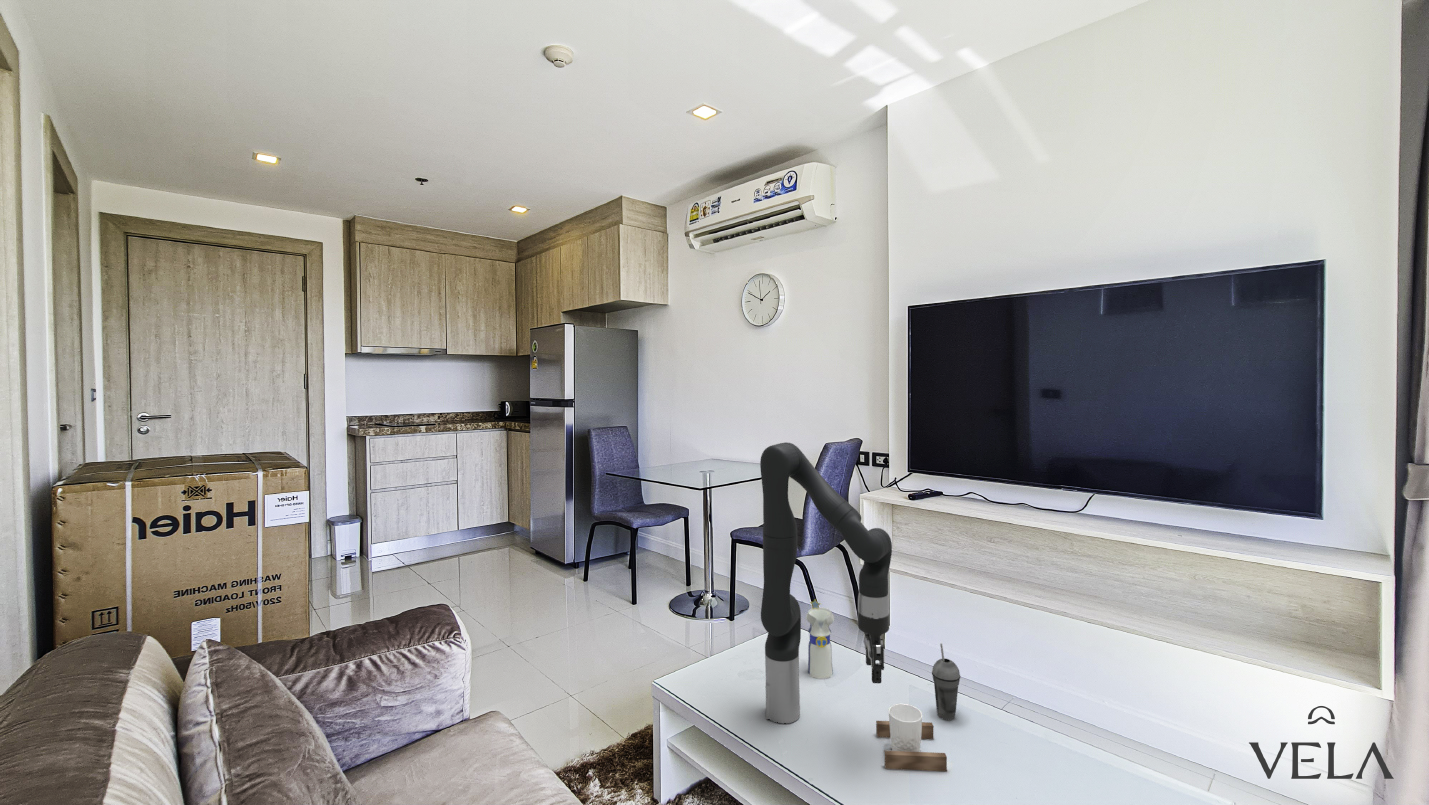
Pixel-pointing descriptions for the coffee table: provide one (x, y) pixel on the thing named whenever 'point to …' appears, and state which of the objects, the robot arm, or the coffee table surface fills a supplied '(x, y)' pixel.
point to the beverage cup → (946, 687)
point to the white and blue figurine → (819, 642)
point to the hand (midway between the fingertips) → (873, 673)
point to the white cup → (905, 727)
